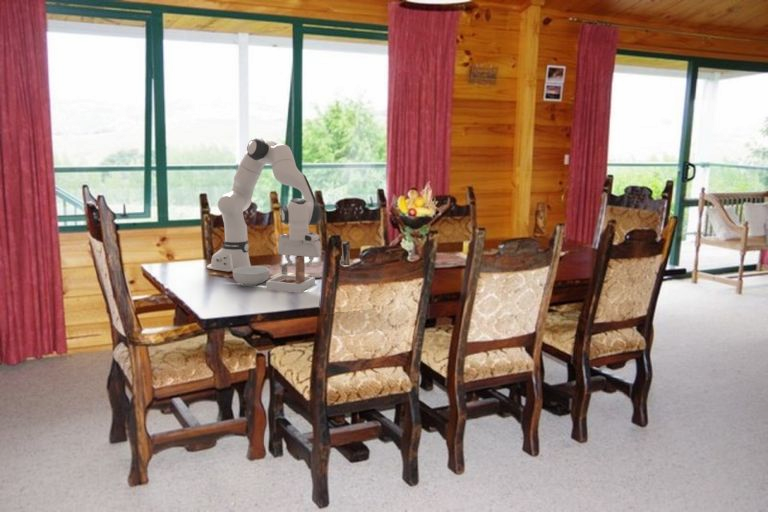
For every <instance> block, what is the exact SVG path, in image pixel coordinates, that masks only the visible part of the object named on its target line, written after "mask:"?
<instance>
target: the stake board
mask: <svg viewBox="0 0 768 512" xmlns="http://www.w3.org/2000/svg"><path fill="white" fill-rule="evenodd" d="M288 266H289V265H288V262H285V263H282V264H280V269H281V271H280V272H277V273H276V274H274V275H271V276H269V277H268V279H269V278H271V279H272V278H275V277H277V276H279V275H282V274H283V275H294V276H296V272H288ZM310 276H311V274H309V273H305V277H310Z"/></svg>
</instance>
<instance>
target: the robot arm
mask: <svg viewBox="0 0 768 512" xmlns="http://www.w3.org/2000/svg"><path fill="white" fill-rule="evenodd" d="M265 165H271V168H272V174H273V176H274V179H275V180H276V181H277V182H278V183H280V184H282V185H284V186H288V187H292V188H294V189H297V190H298V191H300V193H301V195H302V196H303V198H301V197H295V198H292V199H290V200H289V203H288V204H284V206H283V207H282V208H281V209H280V215H281V216H280V218H281V219H280V220H281V222H282V223H283V224H285V225H286V226H289V227H288V232H289V233H287V234H285V233H284V234H283V233H282V234H279V236H278V238H277V241H278V244H277V253H278V254H279V255H283V256H284V258H285V260H286V261H287V263H288V265H287V266H293V260H291V258H290V257H291V256H292V257H293V256H294V257H296V256H304V258H306V257H307V258H308V260H309V261H308V262H306V267H308V268H311V267H312V262H313V261H314V259H315V258H319V257H321V256H322V244H321V242H320V235H319V234H318V233H315V232H313V231H311V230H310V227H309V226H317V225H318V224H319V223H320V222H321V221H322V219H323V212H322V209H321V206H320V205H319V203H318V201H317V199H316V197H315V194H314V192H313V190H312V189H313V188H312V187H311V184H310V182H309V180H308V179H307V177H306V175H305V174H304V173H302V172H301V171H300V170H299V169H298V167H297V165H296V160H295V157H294V154H293V151H292V149H291V147H290V146H289V145H287V144H284V143H278V142H275V141H273V140H271V141H270V140H267V139H263V138H261V137H254V138H252V139H251V140H250V141H249V142H248V144H247V146H246V152H245V154H244V155H243V157H242V159H241V161H240V163H239V165H238V167H237V170H236V172H235V174H234V176H233V181H234V182H233V184H232V185H233V186H232V189H231V190H230V192H227V193H224V194H223V195H222V196H221V197H220V198H219V199H218V200H217V201H218V202H217V208H218V210H219V211H220V213H221V217H222V221H223V226H224V240H223V241H222V242H221V243H220V245H221V248H220V249H219V250H218V251H216V252H215V253H214V254H213V255H212V256H211V261H210V263H209V264H207V266H206V269H210V270H214V271H222V272H233V269H235V268H238V267H244V266H252V265H251V262H250V260H251V259H250V256H249V239H248V225H247V223H246V220H245V217H244V212H245V211H247V210H248V209H249V208H250V206H251V205H252V198H253V195H254V191H255V187H256V185H257V183H258V180H259V179H260V177H261V173H262V171H263V169H264V167H265Z"/></svg>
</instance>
